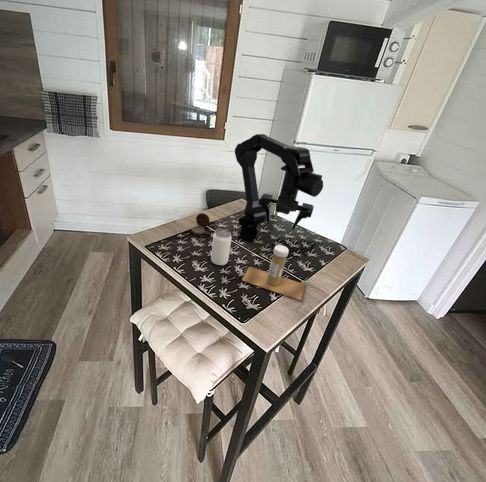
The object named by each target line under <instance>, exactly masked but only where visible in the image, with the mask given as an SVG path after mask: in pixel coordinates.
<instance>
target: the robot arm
mask: <svg viewBox="0 0 486 482" xmlns="http://www.w3.org/2000/svg"><path fill="white" fill-rule="evenodd" d="M262 149H263V150H264V151H267V152H269V153H270V154H273V155H274V156H277V157H278V158H279V159H280V160H281V162H282V163H284V164H285V165H283V166H281V167H280V170H281V171H284V176H283V180H282V185H281V188H280V192H279V195H278V196H277V199H275V198H274V195H272V194H269V193H263V194H261V195H260V197H259V191H258V182H257V176H256V175H257V174H256V167H255V164H256V163H257V159H258V153H259V152H260V151H262ZM234 155H235V159H236V162H237V163H238V165H239V166H240V167H241V171H242V179H243V186H244V192H245V200H246V201H245V202H246V205H245V207H244V210H243V214H244V215H243V216H242V217H240V218H238V224H239V225H240V226H241V227H240V233H239V235H238V239H240V240H244V241H247V242H250V243H253V242H254V241H255V240H256V239H257V237H258V233H259V228H258V227H259V226H261V225H262V224H263V223H264V222H265V220H266V222H267V224H269V223H270V221H271V217H272V209H273V206H275V208H274V209H275V212H276V213H281V214H284V215H290V213H291V212H292V213H293V212H295V213H296V212H297V211H298V214H297V216H296V218H295V221H294V223H293V225H292V228H291V230H292V231H294V229H295V228H296V227H297V225H298V224H299V222H301V221H302V220H303V219H307V218H311V217H312V215H313V211H314V208H315V207H314V205H313V204H311V203H307V202H302V205H301V204H299V201H298V200H297V196H298V194H299V191H300V192H302V193H304V194H306V195H309V196H311V197H313V198H317V196H319V195H320V194H321V192H322V191H323V188H324V181H323V179H322V178H323V175H321V174H317V173H314V171H315V169H314V166H313V163H312V159H311V153H310V150H309V149H308V148H306V147H301V146H294V145H288V144H286V143H284V142H282V141H280V140H277V139H274V138H272V137H270V136H268V135H267V134H264V133H259V134H258V133H257V134H254V135H253V136H251V137H249V138H247V139H246V140H244V141H242V142H241V143H237V144H236V147H235V148H234Z"/></svg>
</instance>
